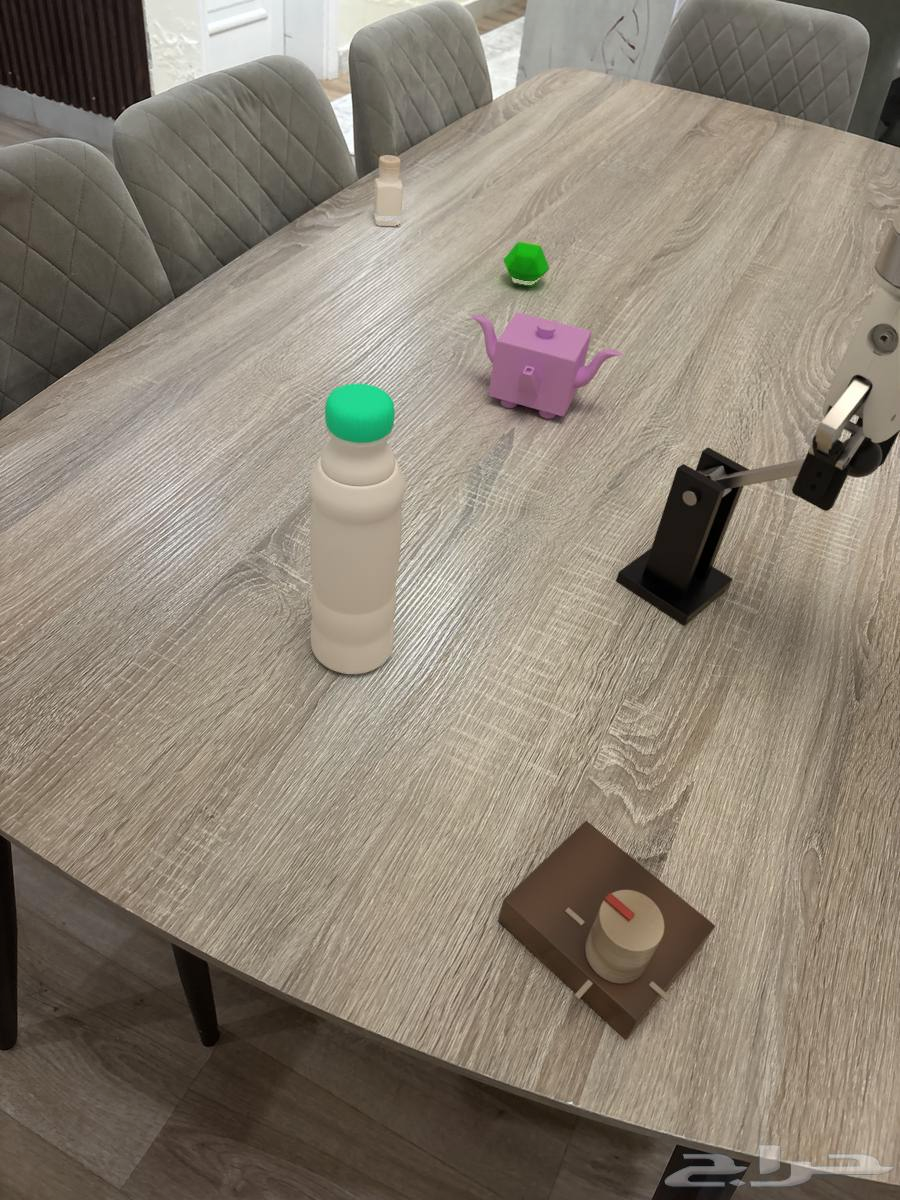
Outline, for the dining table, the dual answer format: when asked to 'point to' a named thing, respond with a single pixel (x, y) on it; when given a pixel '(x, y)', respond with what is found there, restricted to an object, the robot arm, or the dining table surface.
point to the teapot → (539, 363)
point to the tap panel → (568, 910)
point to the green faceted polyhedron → (526, 262)
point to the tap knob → (624, 936)
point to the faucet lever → (797, 468)
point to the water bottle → (355, 532)
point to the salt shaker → (388, 189)
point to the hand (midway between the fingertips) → (838, 478)
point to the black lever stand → (687, 543)
